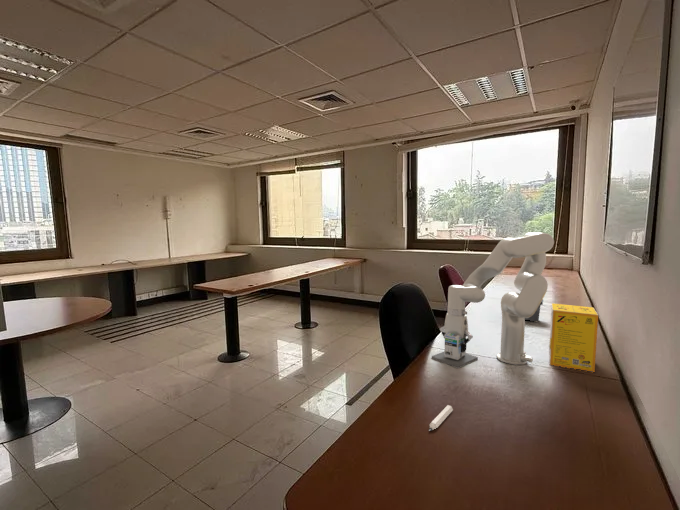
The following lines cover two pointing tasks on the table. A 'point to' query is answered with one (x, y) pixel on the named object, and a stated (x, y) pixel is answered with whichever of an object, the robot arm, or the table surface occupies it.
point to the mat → (453, 362)
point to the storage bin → (535, 314)
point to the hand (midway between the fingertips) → (455, 348)
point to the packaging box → (573, 336)
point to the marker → (440, 417)
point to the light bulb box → (453, 346)
